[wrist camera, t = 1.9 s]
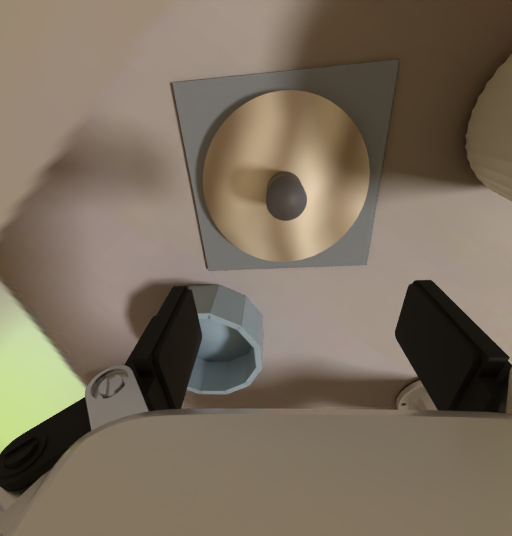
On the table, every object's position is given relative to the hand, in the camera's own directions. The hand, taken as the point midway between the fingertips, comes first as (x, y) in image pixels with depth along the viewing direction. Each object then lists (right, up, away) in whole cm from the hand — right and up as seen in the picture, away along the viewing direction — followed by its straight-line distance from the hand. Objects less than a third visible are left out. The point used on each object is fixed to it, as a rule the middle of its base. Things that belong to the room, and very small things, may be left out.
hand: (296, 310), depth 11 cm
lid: (+1, +11, +16) cm, 19 cm away
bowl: (-8, -7, +27) cm, 29 cm away
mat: (+1, +11, +16) cm, 20 cm away
